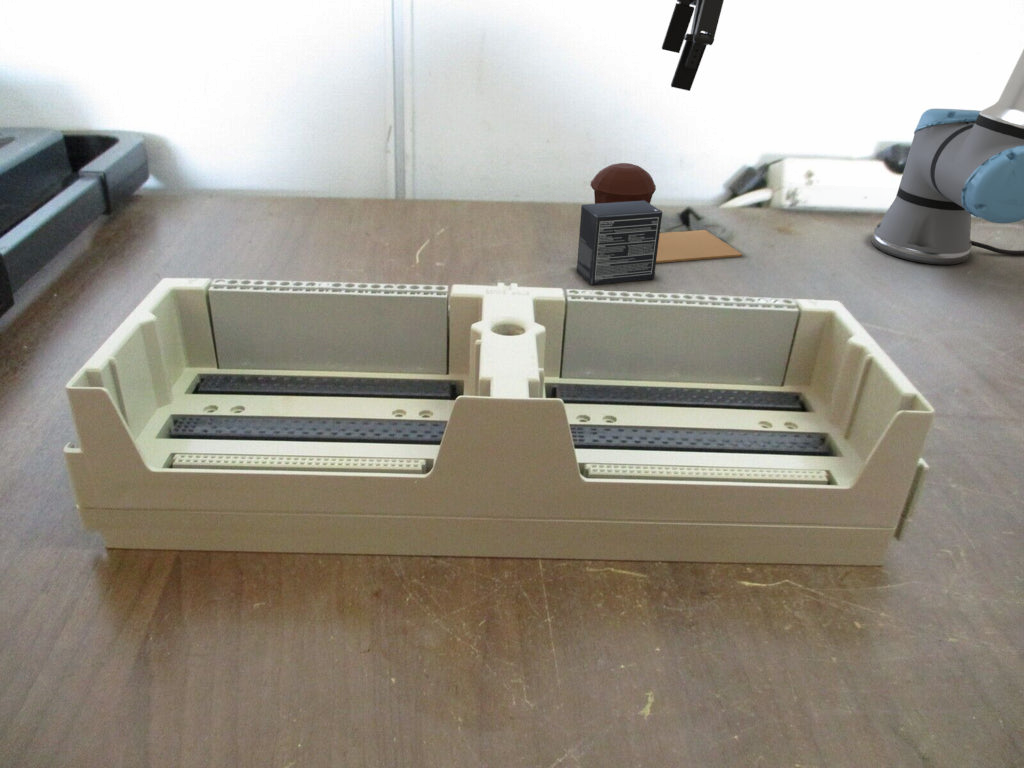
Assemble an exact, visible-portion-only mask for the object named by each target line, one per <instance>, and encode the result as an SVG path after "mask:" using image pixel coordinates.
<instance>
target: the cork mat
mask: <svg viewBox="0 0 1024 768" xmlns="http://www.w3.org/2000/svg"><path fill="white" fill-rule="evenodd" d="M737 257H738V258H739V257H743V254H742V253H741V252H740V251H739V250H736V249H735V248H734V247H733V246H730V245H729V244H728V243H726V242H724V241H723V240H722V239H720V238H719V237H717V236H716V235H714V234H712V233H711V232H709V231H708V230H706V229H700V230H699V229H697V230H683V231H669V232H667V231H666V232H660V234H659V242H658V250H657V258H656V264H663V263H665V264H666V263H677V262H689V261H700V260H701V261H703V260H713V259H715V260H716V259H725V258H737Z"/></svg>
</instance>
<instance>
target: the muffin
mask: <svg viewBox="0 0 1024 768" xmlns="http://www.w3.org/2000/svg"><path fill="white" fill-rule="evenodd" d="M590 188H592V190H593V194H594V204H600V203H615V202H630V201H646V202H648V203H649V204H651V202H652V198H653V195H654V193H656V190H657V186H656V184H655V181H654V179H653V177H652V175H651V174H650V173H649V172H648V171H647V170H646V169H644V168H643V167H641V166H639V165H637V164H633V163H627V162H619V163H613V164H610V165H608V166H606V167H604V168H602V169H601V170H599V171H598V172H597V174H595V176H594V177H593V178H592V180H591V181H590Z"/></svg>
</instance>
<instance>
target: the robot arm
mask: <svg viewBox="0 0 1024 768" xmlns="http://www.w3.org/2000/svg"><path fill="white" fill-rule="evenodd" d="M724 2H725V1H724V0H676V3H675V5H674V9H673V12H672V14H671V17H670V20H669V23H668V27H667V30H666V33H665V35H664V39H663V42H662V45H661V50H663V51H668V52H673V53H677V54H680V52H681V54H680V56H679V60H678V62H677V65H676V68H675V71H674V75H673V77H672V80H671V83H670V87H671V88H675V89H679V90H684V91H687V92H690V91H691V89H692V87H693V84H694V81H695V78H696V76H697V72H698V71H699V70H698V69H699V67H700V64H701V62H702V60H703V56H704V54H705V51H706V48H707V46H712V45H713V44H714V42H715V36H716V33H717V30H718V29H717V28H718V25H719V20H720V18H721V17H720V16H721V13H722V8H723V4H724ZM692 17H693V19H692ZM691 20H692V23H691ZM690 23H691V28H690V33H687V32H688V29H689V25H690ZM684 41H685V43H684ZM683 43H684V45H683ZM682 46H683V47H682ZM681 49H682V51H681ZM972 217H976V218H981V219H983V220H985V221H987V222H989V223H994V224H1011V223H1017V222H1020V221H1023V220H1024V48H1023V50H1022V51H1021V54H1020V55H1019V58H1018V60H1017V61H1016V64H1015V66H1014V68H1013V70H1012V72H1011V74H1010V76H1009V77H1008V80H1007V82H1006V84H1005V86H1004V88H1003V90H1002V91H1001V95H1000V96H999V97H998V100H997V101H996V102H995V103H994V104H992V105H990V106H988V107H986V108H985V109H982V110H977V109H976V110H975V109H959V108H929V109H927V110H925V111H923V113H922V114H921V115H920V118H919V121H918V123H917V125H916V128H915V129H914V131H913V138H912V140H911V145H910V148H909V151H908V155H907V159H906V162H905V165H904V169H903V172H902V175H901V178H900V182H899V186H898V189H897V193H896V195H895V198H894V200H893V201H892V203H891V204H890V205H889V208H888V209H887V211H886V213H885V214H884V215H883V217H882V219H881V221H880V222H879V223H878V224H877V225H876V226H875V228H874V229H873V233H872V237H871V243H872V245H873V246H874V247H875V248H877V249H878V250H880V251H882V252H883V253H886V254H888V255H890V256H893V257H897V258H900V259H904V260H906V261H912V262H916V263H921V264H929V265H944V266H945V265H958V264H961V263H965V262H966V261H967V260H968V258H969V256H970V253H971V251H972V247H977V248H981V249H984V250H986V251H989V252H992V253H997V254H1001V255H1007V256H1008V255H1009V256H1024V250H1012V249H1010V250H1009V249H1002V248H999V247H995V246H993V245H990V244H985V243H982V242H979V241H974V240H971V233H972V232H971V230H972Z"/></svg>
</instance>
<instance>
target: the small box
mask: <svg viewBox="0 0 1024 768" xmlns="http://www.w3.org/2000/svg"><path fill="white" fill-rule="evenodd" d="M663 214H664V211H662V210H661V209H659V208H657V207H656V206H654V205H653V204H651V203H650V204H649V203H648V202H646V201H630V202H615V203H600V204H595V203H587V204H581V207H580V221H579V222H580V223H579V236H578V248H577V260H576V271H577V273H578V274H580V275H581V277H583V278H584V279H585V280H586V282H587V283H589V285H591V286H596V285H606V284H613V283H614V284H616V283H625V282H626V283H627V282H635V281H646V280H648V281H649V280H654V279H655V278H656V267H657V266H656V265H657V263H656V258H657V250H658V242H659V234H660V233H661V225H662V219H663Z"/></svg>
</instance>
